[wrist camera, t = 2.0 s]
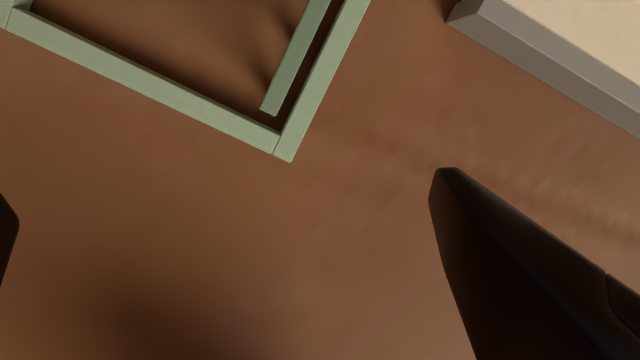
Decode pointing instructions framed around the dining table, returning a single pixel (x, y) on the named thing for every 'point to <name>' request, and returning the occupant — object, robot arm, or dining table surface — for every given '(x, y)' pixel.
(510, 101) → the dining table surface
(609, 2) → the cream bevelled block
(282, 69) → the dish rack
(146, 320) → the dining table surface
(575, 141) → the dining table surface
